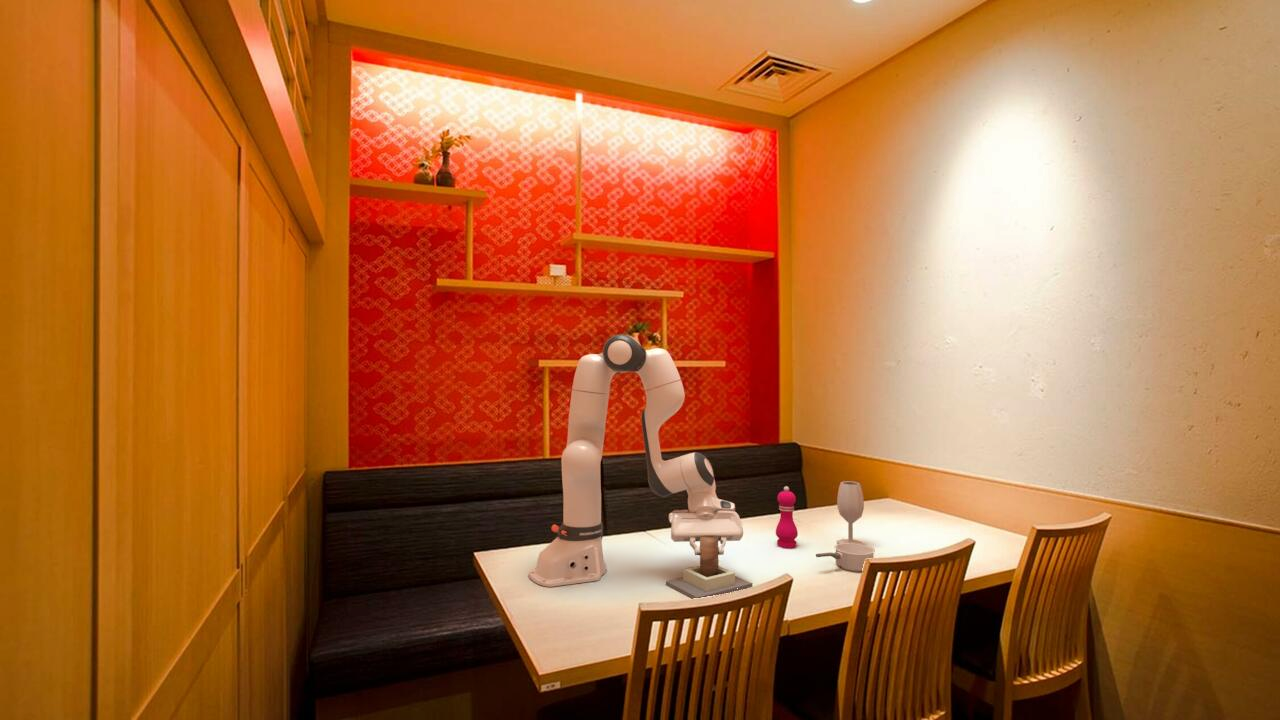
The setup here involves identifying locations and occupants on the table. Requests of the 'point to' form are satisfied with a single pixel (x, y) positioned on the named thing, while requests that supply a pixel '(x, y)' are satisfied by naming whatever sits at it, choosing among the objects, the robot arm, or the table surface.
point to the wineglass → (850, 507)
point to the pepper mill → (786, 520)
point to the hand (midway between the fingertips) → (709, 554)
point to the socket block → (707, 583)
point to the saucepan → (850, 555)
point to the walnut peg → (709, 556)
